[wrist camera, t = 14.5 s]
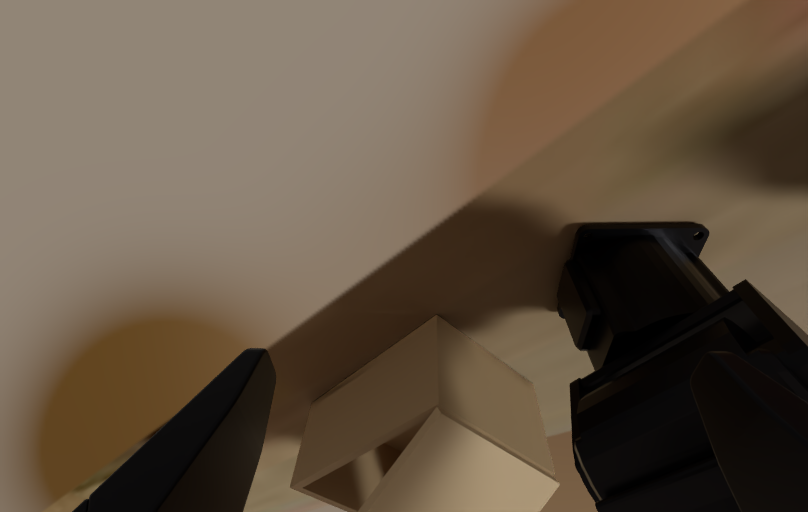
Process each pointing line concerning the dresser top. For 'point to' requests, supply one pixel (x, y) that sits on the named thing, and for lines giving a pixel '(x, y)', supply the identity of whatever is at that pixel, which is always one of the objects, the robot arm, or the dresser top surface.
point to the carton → (413, 412)
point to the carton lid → (459, 474)
